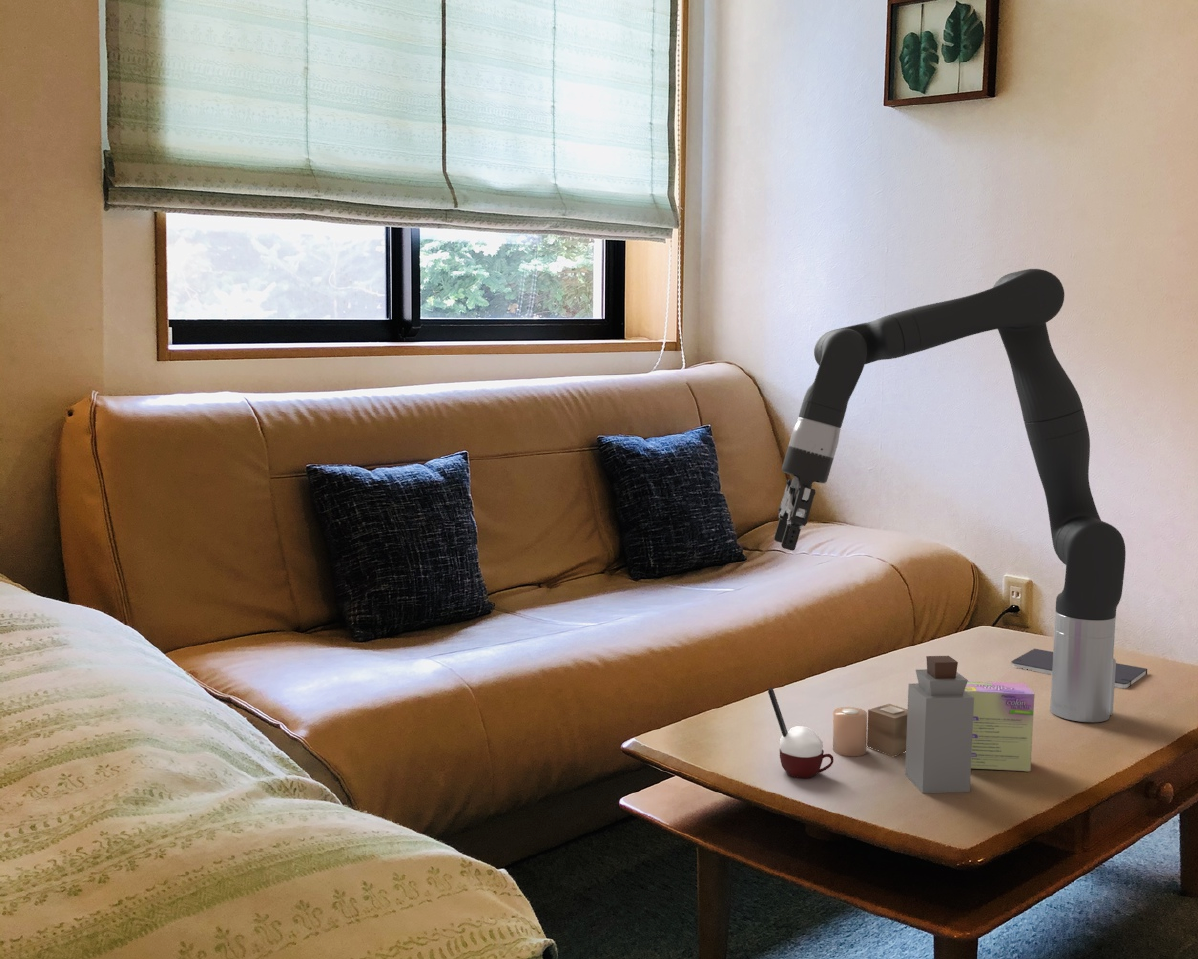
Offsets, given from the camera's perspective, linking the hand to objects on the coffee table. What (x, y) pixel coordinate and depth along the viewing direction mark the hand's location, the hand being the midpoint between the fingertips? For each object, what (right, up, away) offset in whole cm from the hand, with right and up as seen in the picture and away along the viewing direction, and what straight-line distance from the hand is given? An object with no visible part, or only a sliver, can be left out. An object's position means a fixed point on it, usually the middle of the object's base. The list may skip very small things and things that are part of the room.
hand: (783, 545), depth 181 cm
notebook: (+61, -26, +31) cm, 74 cm away
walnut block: (+15, -31, -10) cm, 36 cm away
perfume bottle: (+18, -32, -24) cm, 44 cm away
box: (+28, -32, -16) cm, 45 cm away
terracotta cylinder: (+8, -31, -11) cm, 34 cm away
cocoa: (-1, -32, -20) cm, 38 cm away
